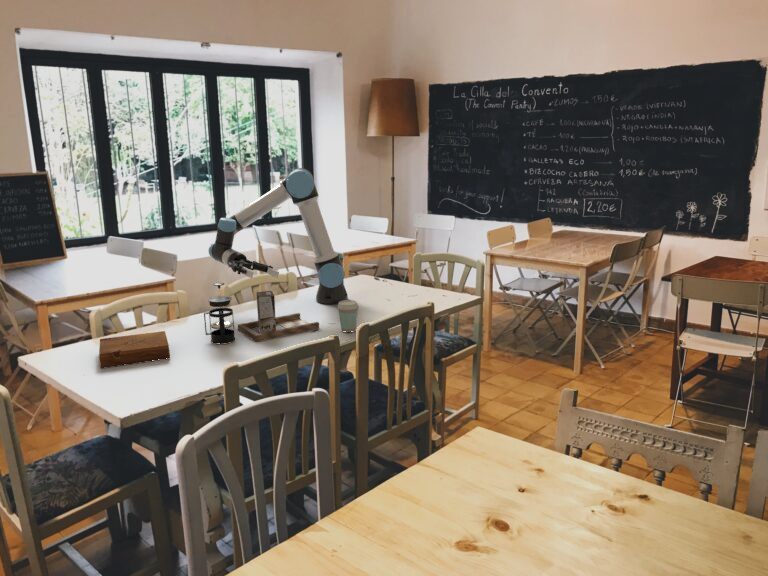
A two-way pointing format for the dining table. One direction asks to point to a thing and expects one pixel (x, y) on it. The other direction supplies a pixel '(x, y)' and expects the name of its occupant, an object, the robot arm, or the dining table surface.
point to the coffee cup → (348, 315)
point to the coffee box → (266, 311)
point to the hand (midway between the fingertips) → (265, 275)
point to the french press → (220, 319)
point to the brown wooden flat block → (133, 349)
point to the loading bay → (290, 324)
